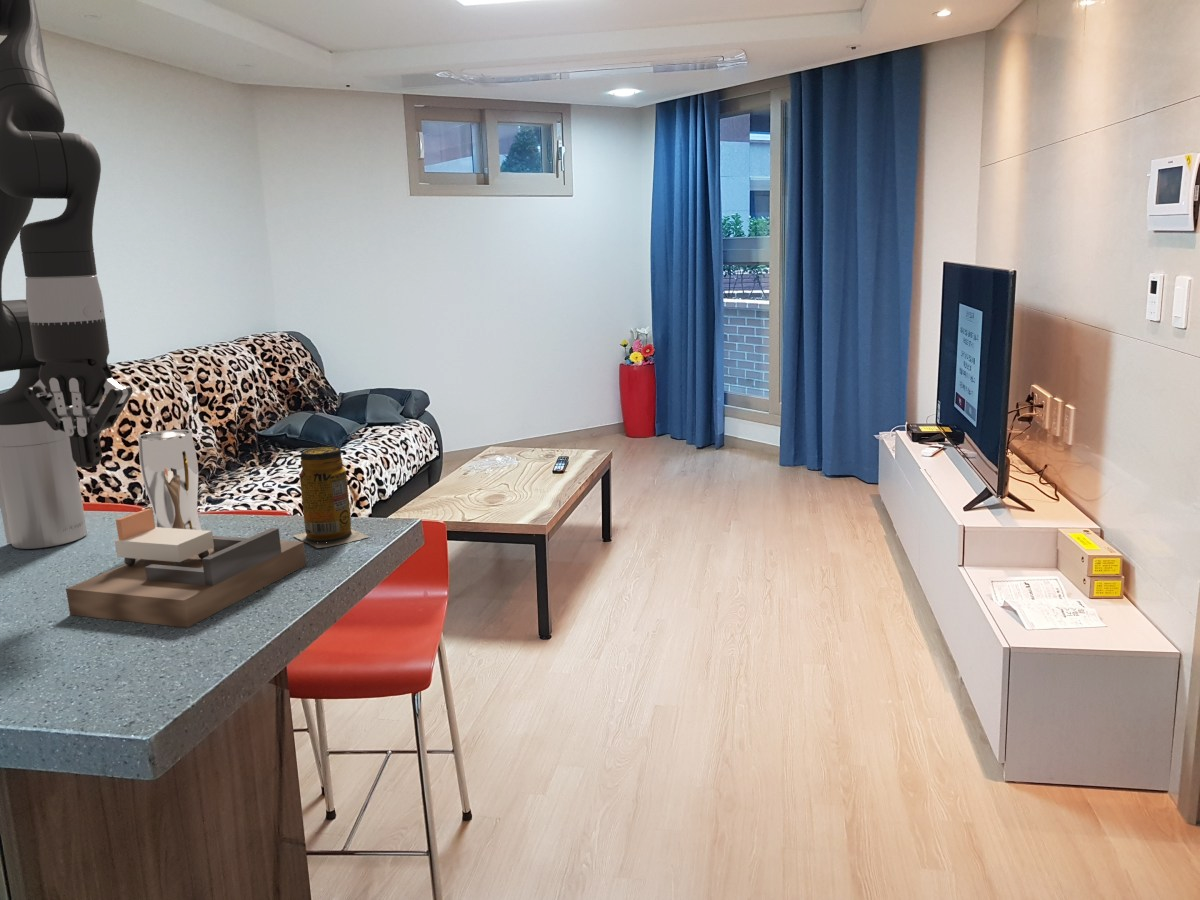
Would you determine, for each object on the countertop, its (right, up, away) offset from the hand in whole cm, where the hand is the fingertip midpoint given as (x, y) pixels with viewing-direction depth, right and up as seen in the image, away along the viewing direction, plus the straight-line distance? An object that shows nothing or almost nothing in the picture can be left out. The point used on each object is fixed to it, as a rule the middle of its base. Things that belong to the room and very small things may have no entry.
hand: (88, 465), depth 110 cm
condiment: (+23, -10, +17) cm, 31 cm away
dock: (+13, -14, -1) cm, 19 cm away
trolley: (+9, -11, 0) cm, 15 cm away
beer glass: (+3, -11, +18) cm, 21 cm away
